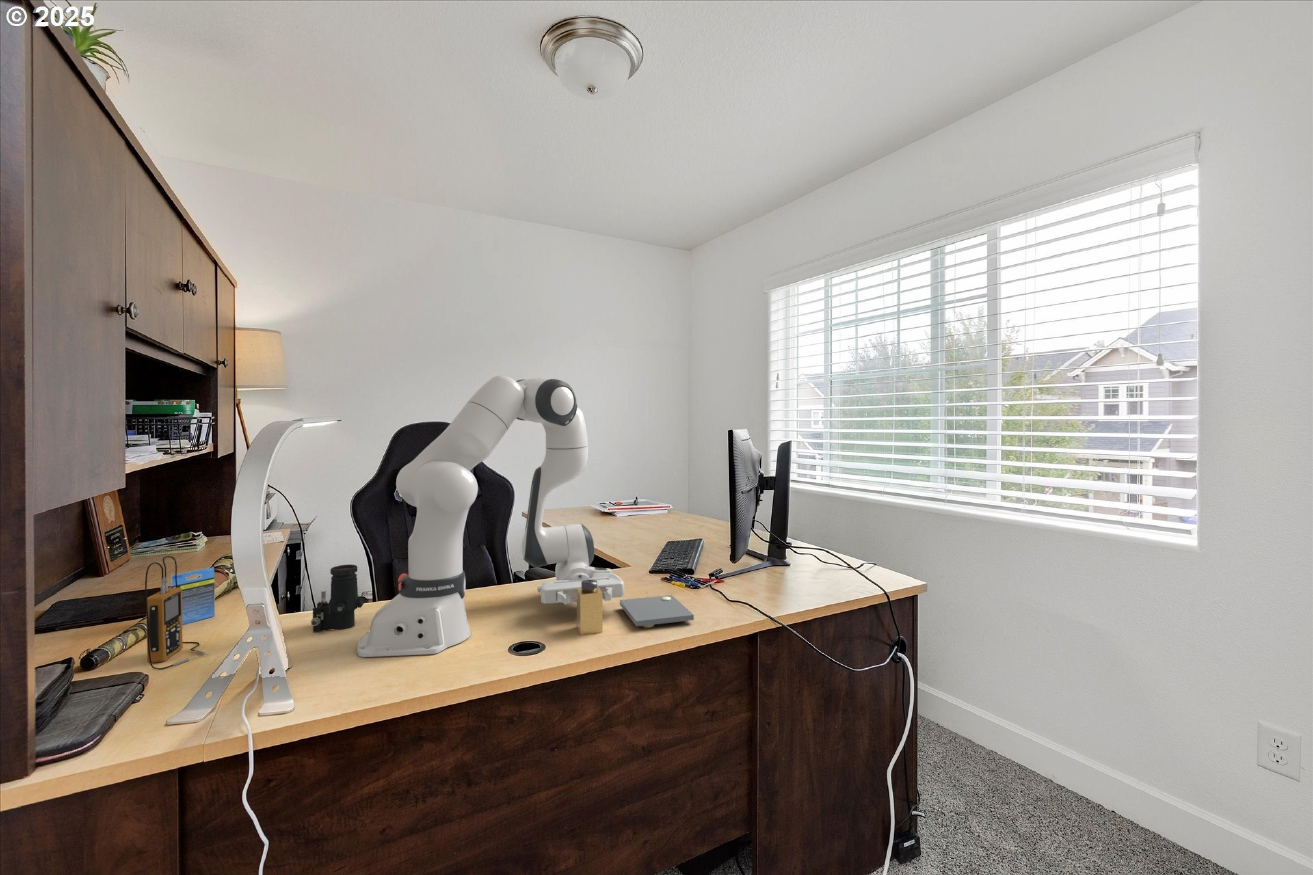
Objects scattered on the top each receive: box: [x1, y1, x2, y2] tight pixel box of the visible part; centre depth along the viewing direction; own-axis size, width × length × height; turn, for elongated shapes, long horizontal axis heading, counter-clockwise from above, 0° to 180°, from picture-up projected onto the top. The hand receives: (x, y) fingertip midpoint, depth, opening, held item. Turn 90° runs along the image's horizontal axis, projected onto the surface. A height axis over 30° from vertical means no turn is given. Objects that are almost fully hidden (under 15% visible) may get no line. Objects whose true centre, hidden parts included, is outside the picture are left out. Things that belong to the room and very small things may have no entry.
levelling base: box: [619, 594, 695, 628], centre depth 136 cm, size 14×16×2 cm
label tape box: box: [168, 566, 216, 626], centre depth 133 cm, size 9×4×12 cm, turn 154°
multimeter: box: [144, 555, 210, 670], centre depth 114 cm, size 15×10×20 cm
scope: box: [310, 564, 364, 634], centre depth 129 cm, size 8×14×10 cm
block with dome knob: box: [576, 580, 604, 635], centre depth 127 cm, size 5×5×11 cm
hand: (587, 599), depth 129 cm, fingers open, 8 cm apart
